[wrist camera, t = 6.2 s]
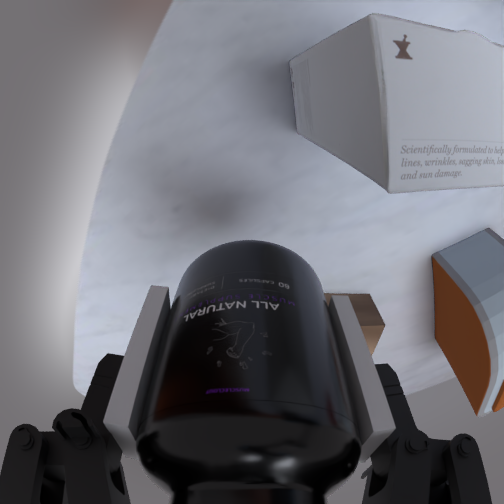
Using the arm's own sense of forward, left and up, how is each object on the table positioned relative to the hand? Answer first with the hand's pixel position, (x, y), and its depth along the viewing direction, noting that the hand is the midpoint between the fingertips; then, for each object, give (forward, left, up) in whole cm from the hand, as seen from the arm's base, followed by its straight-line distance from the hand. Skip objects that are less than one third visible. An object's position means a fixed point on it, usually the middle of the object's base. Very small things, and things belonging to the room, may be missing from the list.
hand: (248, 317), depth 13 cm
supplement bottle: (0, 0, -2) cm, 2 cm away
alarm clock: (+8, +26, -13) cm, 30 cm away
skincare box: (-10, +7, -13) cm, 18 cm away
